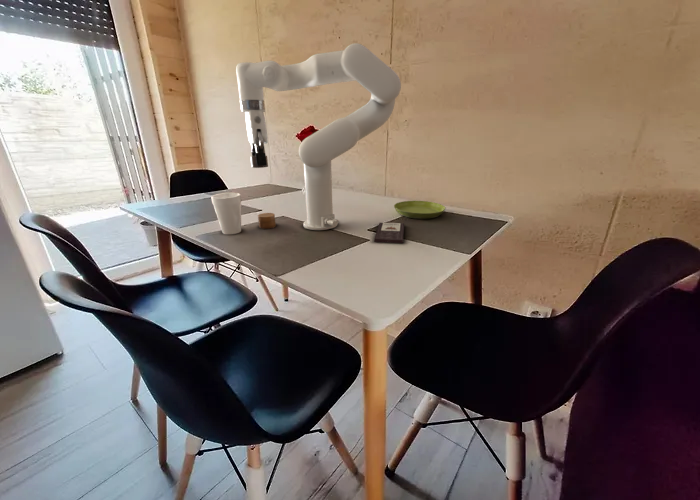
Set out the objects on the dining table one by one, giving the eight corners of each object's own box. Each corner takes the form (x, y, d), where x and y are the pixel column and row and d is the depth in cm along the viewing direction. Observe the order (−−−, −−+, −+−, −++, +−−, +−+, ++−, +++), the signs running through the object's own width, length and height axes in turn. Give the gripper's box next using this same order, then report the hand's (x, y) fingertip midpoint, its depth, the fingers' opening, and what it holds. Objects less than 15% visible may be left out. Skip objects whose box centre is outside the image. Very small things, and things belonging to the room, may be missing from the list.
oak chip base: (278, 226, 116) (278, 220, 115) (264, 229, 112) (263, 224, 111) (270, 223, 120) (269, 217, 119) (256, 226, 116) (255, 220, 115)
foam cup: (218, 237, 105) (211, 199, 100) (217, 229, 113) (210, 194, 108) (247, 233, 109) (241, 196, 104) (244, 226, 117) (239, 191, 112)
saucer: (392, 220, 121) (392, 211, 120) (394, 207, 140) (394, 200, 139) (447, 221, 118) (448, 213, 117) (441, 208, 137) (442, 201, 136)
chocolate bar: (374, 239, 98) (379, 222, 115) (374, 241, 99) (379, 224, 115) (403, 240, 97) (404, 223, 113) (402, 243, 97) (404, 225, 114)
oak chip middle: (278, 220, 115) (277, 214, 115) (263, 224, 111) (263, 218, 111) (269, 217, 119) (268, 211, 118) (255, 220, 115) (254, 215, 115)
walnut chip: (271, 166, 108) (270, 155, 107) (256, 168, 104) (255, 157, 103) (262, 165, 112) (261, 155, 110) (248, 167, 108) (247, 156, 107)
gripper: (270, 105, 95) (276, 166, 102) (259, 108, 110) (264, 161, 116) (245, 105, 92) (253, 167, 99) (236, 108, 107) (244, 162, 113)
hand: (259, 163), depth 108 cm, fingers closed on walnut chip, 5 cm apart
